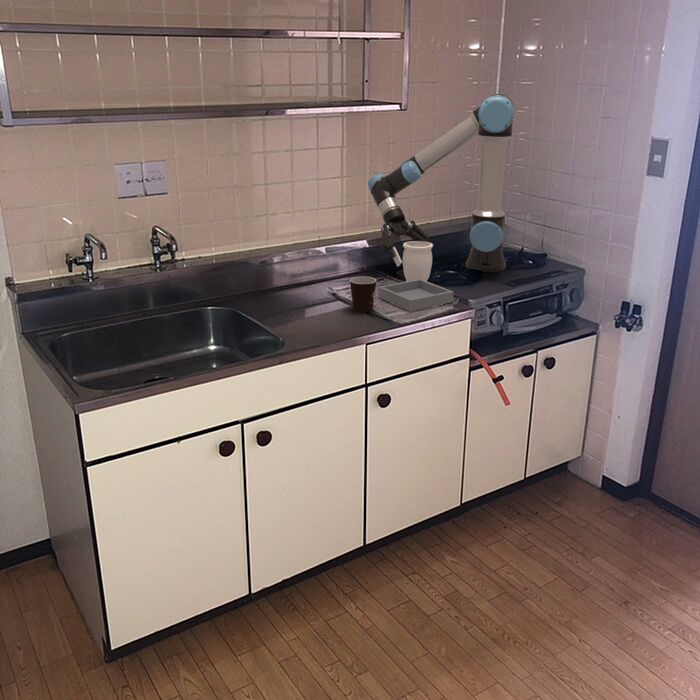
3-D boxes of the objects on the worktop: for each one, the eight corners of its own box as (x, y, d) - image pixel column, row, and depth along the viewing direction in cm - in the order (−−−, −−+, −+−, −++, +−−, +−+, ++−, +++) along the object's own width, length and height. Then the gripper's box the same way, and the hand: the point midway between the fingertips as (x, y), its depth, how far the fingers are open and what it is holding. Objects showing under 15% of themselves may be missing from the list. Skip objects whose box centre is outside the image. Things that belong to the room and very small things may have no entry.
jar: (434, 282, 280) (436, 242, 275) (425, 290, 272) (427, 248, 266) (407, 279, 285) (408, 239, 279) (397, 286, 276) (398, 245, 270)
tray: (420, 289, 272) (420, 279, 270) (452, 303, 258) (453, 291, 256) (378, 298, 263) (378, 286, 261) (410, 312, 249) (410, 300, 247)
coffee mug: (365, 315, 246) (366, 285, 242) (344, 310, 250) (344, 280, 247) (386, 306, 254) (387, 277, 251) (365, 301, 259) (365, 273, 255)
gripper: (414, 215, 291) (437, 262, 284) (359, 222, 278) (382, 272, 272) (423, 203, 285) (447, 251, 278) (367, 210, 272) (391, 261, 266)
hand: (415, 262), depth 275 cm, fingers open, 13 cm apart
